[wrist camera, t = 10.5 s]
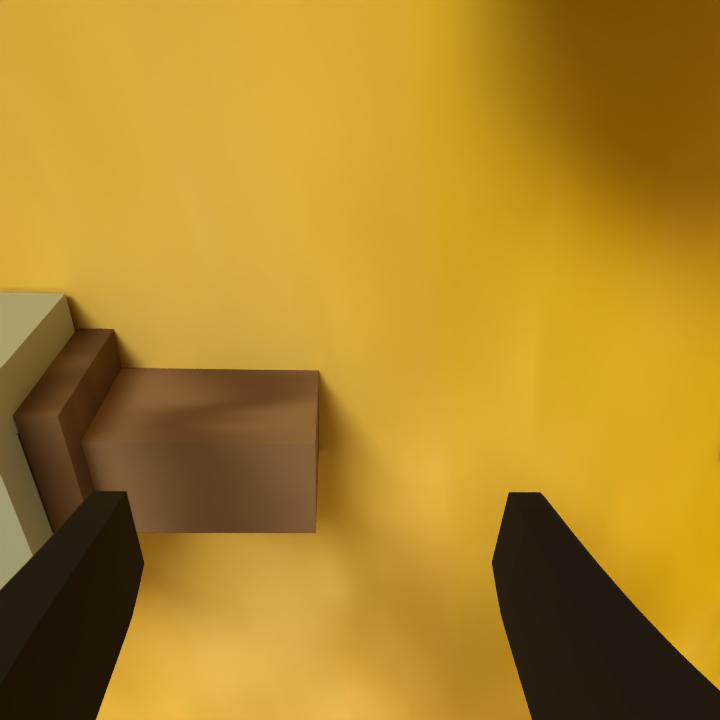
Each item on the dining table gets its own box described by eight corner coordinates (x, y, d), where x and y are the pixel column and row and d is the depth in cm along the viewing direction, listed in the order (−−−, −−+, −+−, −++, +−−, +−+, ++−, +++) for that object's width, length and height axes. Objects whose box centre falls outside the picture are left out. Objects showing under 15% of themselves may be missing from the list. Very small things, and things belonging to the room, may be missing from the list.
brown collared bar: (318, 332, 20) (314, 418, 16) (318, 482, 24) (315, 582, 20) (-75, 325, 20) (-180, 414, 16) (-10, 481, 24) (-81, 584, 20)
